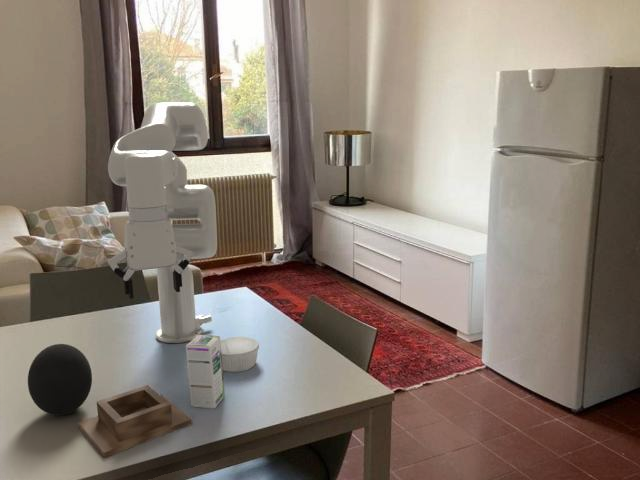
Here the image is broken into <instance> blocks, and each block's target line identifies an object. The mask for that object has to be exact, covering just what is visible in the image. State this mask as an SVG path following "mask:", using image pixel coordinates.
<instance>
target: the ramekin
mask: <svg viewBox="0 0 640 480" xmlns="http://www.w3.org/2000/svg"><path fill="white" fill-rule="evenodd" d="M220 341H221V354H222V367H223V372H227V373H228V372H229V373H240V372H243V371H248V370H249V369H251V368H253V367H254V366H255V364H256V363H257V360H258V352H259V348H260V344H259V342H258V341H257V340H256V339H255V338H253V337H247V336H232V337H231V336H230V337H227V338H223V339H220Z"/></svg>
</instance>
